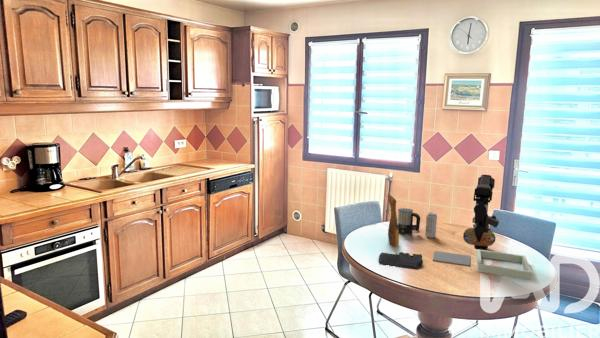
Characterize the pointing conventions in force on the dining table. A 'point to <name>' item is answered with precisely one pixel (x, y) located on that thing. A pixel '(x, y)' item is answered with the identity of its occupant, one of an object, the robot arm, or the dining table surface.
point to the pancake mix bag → (393, 223)
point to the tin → (471, 238)
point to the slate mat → (451, 258)
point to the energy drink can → (431, 224)
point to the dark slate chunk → (401, 260)
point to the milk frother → (407, 221)
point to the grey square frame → (502, 270)
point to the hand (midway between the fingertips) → (478, 240)
